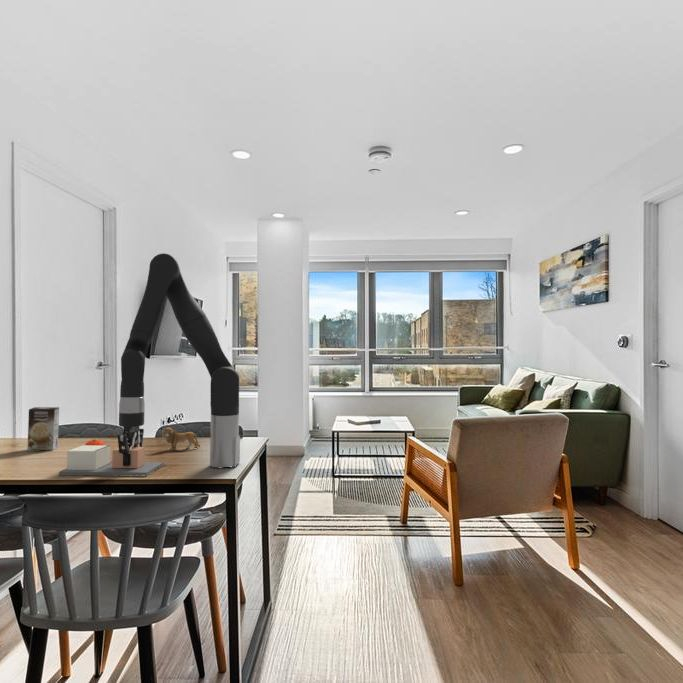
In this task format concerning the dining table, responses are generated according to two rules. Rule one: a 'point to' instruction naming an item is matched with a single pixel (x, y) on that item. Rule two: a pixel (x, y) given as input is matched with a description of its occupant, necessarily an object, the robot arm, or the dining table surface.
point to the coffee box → (43, 428)
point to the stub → (136, 458)
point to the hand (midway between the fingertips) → (130, 463)
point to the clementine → (95, 442)
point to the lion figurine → (179, 437)
